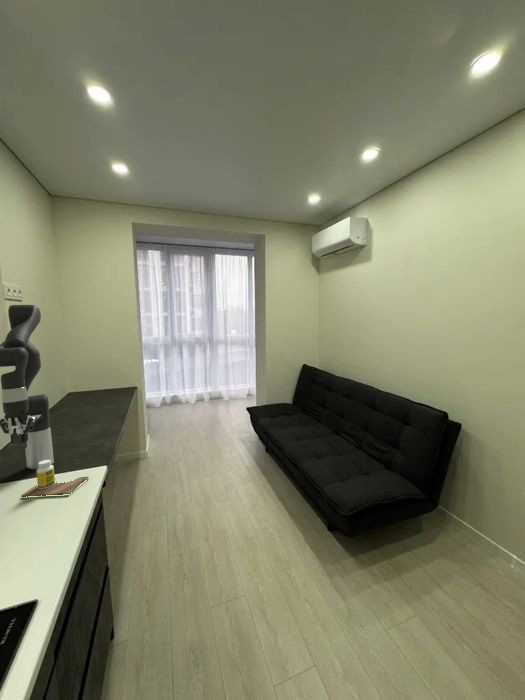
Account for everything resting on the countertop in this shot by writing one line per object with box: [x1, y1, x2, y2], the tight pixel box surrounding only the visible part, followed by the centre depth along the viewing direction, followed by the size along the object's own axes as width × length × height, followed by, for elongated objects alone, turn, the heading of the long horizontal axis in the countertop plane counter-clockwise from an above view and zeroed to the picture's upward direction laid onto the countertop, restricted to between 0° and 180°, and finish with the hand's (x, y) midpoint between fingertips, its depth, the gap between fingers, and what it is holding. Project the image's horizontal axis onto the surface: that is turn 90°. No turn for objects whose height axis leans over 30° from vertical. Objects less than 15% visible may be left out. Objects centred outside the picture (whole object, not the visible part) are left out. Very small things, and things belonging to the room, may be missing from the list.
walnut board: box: [20, 476, 89, 498], centre depth 114 cm, size 18×12×1 cm, turn 91°
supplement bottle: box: [36, 460, 56, 489], centre depth 114 cm, size 5×5×10 cm
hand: (19, 442), depth 113 cm, fingers open, 3 cm apart
